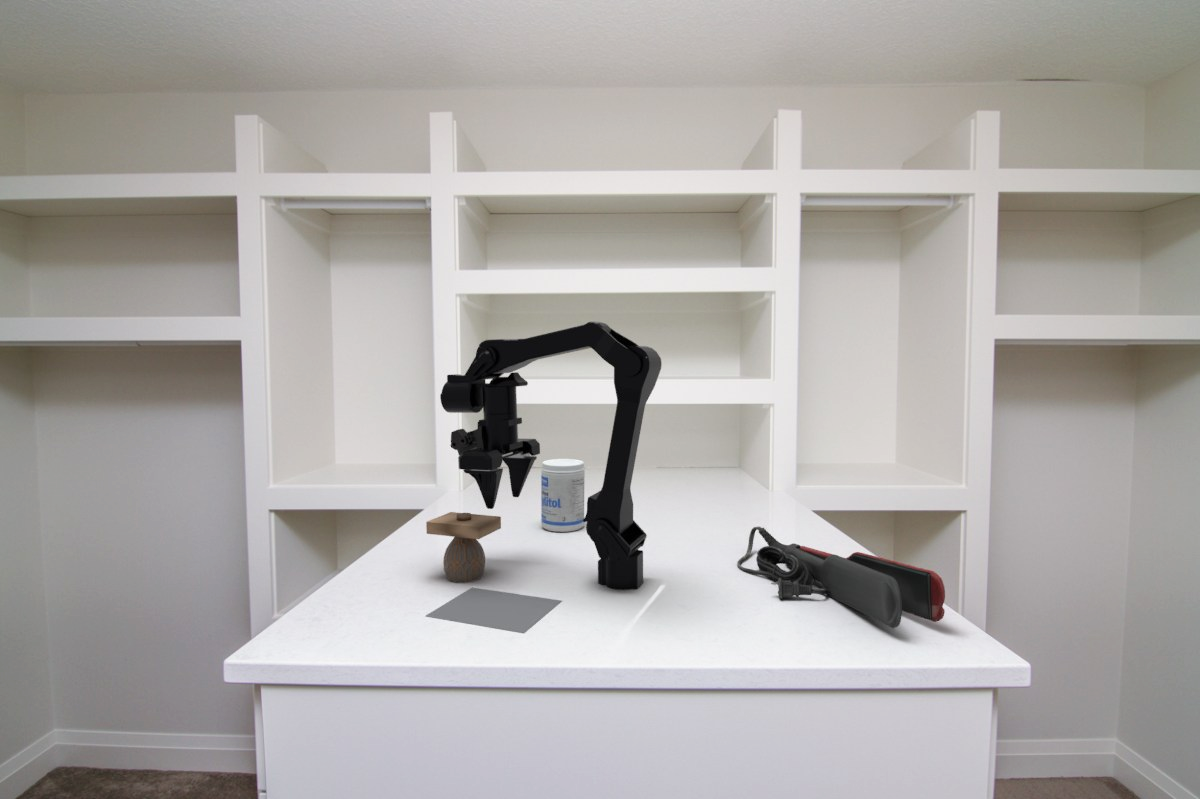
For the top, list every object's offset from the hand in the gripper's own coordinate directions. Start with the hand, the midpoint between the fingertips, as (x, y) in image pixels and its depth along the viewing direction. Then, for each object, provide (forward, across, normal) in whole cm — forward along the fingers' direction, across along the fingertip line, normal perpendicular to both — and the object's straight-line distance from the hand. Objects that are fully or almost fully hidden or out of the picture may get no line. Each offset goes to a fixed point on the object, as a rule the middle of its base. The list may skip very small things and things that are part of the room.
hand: (503, 502), depth 110 cm
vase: (+13, +6, -5) cm, 15 cm away
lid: (+4, +6, -4) cm, 8 cm away
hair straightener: (+14, -10, +53) cm, 56 cm away
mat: (+13, +16, +7) cm, 22 cm away
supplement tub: (+13, -31, -2) cm, 34 cm away
